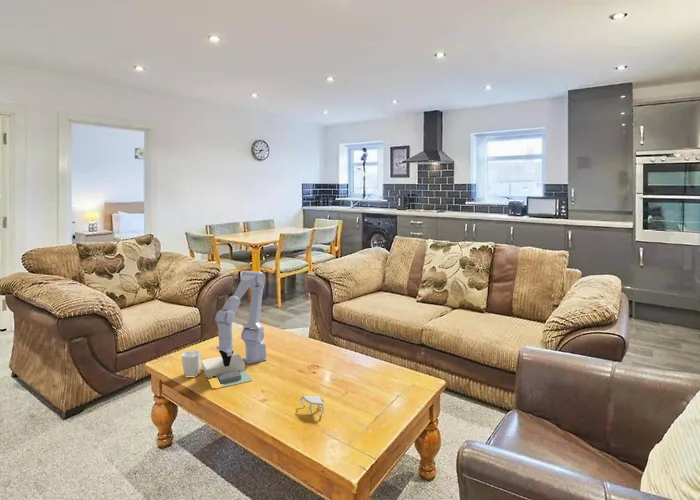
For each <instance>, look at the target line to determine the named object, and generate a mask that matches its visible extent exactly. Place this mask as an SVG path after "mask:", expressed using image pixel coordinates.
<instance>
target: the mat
mask: <svg viewBox="0 0 700 500" xmlns="http://www.w3.org/2000/svg"><path fill="white" fill-rule="evenodd" d="M239 373H240V374H241V380H237V381H233V382H228V383H224V385H223V384H222V385H223V386H222V387H223V388H226V387H225V386H227V387H230V385H232V386H236V385H240V383H241V384H245V383H249V382H252V381H253V379H252V377H251V376H250V375H249V374H248V372H247V371H246V370H244V371H240V372H239ZM235 384H236V385H235Z"/></svg>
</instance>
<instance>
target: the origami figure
mask: <svg viewBox="0 0 700 500" xmlns="http://www.w3.org/2000/svg"><path fill="white" fill-rule="evenodd" d="M299 400H300V402H301V404H302V406H303V407H306V405H305V404H304V401H305V402H307V403H308V404H309V407H308V409H309V411H310V415H313V410H312V406H315V405H317V406H316V407H317V408H321V412H320V417H323V414H324V402H325V399H323V398H321V396H319V395H316V396H315V395H304V394H303V395H302V397H301V398H300V399H299ZM303 400H304V401H303Z"/></svg>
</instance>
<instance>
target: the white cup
mask: <svg viewBox="0 0 700 500" xmlns="http://www.w3.org/2000/svg"><path fill="white" fill-rule="evenodd" d="M181 360H182V367H183V368H182V370H183V376H184V375H185V376H196V375H198V374H200V375H201V365H202V361H201V360H202V359H201V351H200V350H188V351H184V352H183V353H182V354H181ZM185 376H184V377H185Z"/></svg>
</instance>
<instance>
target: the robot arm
mask: <svg viewBox="0 0 700 500" xmlns="http://www.w3.org/2000/svg"><path fill="white" fill-rule="evenodd" d="M239 278H240V282H239V284H238V286H237V288H236V290H235V291H234V294H233V295H231V296H229V297H228V299H227V300H226V302H225V304H224V305H223V306H222V308H221V309H220V310H218V311H217V312H216V313H215V317H214V321H215V323H216V326H217V327H218V346H216V350H217V351H218V352H219V353H220V357H221V356H222V360H223V364H224V366H225V367H226V366H229V365H230V361H231V357H232V355H233V354H234V350H233V349H234V344H233V327H232V326H233V325H232V324H233V322H234V321H235V316H236V312H237V310H238V308H239V307H240V306H241V303H242V302H241V299H242V298H243V296H244V295H245V293H246V292H247V291H248V289H250V290H251V295H250V296H251V297H250V303H249V312H248V313H249V314H248V322H247V323H245V324H244V325H243V327H242V331H241V335H240V337H241V339H242V341H243V343H244V345H245V356H243V358H242V359H244V360H243V361H244V362H245V363H246V364H248V365H249V364H253V363H259V362H263V361H267V347H266V342H265V340H264V338H265V333H264V326H263V325H262V324H261V323H260V319H261V318H260V317H261V310H262V303H263V301H262V300H263V294H264V288H265V283H266V275H265V273H263V271H253V270H243V272H242V273H241V275H240V277H239Z"/></svg>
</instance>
